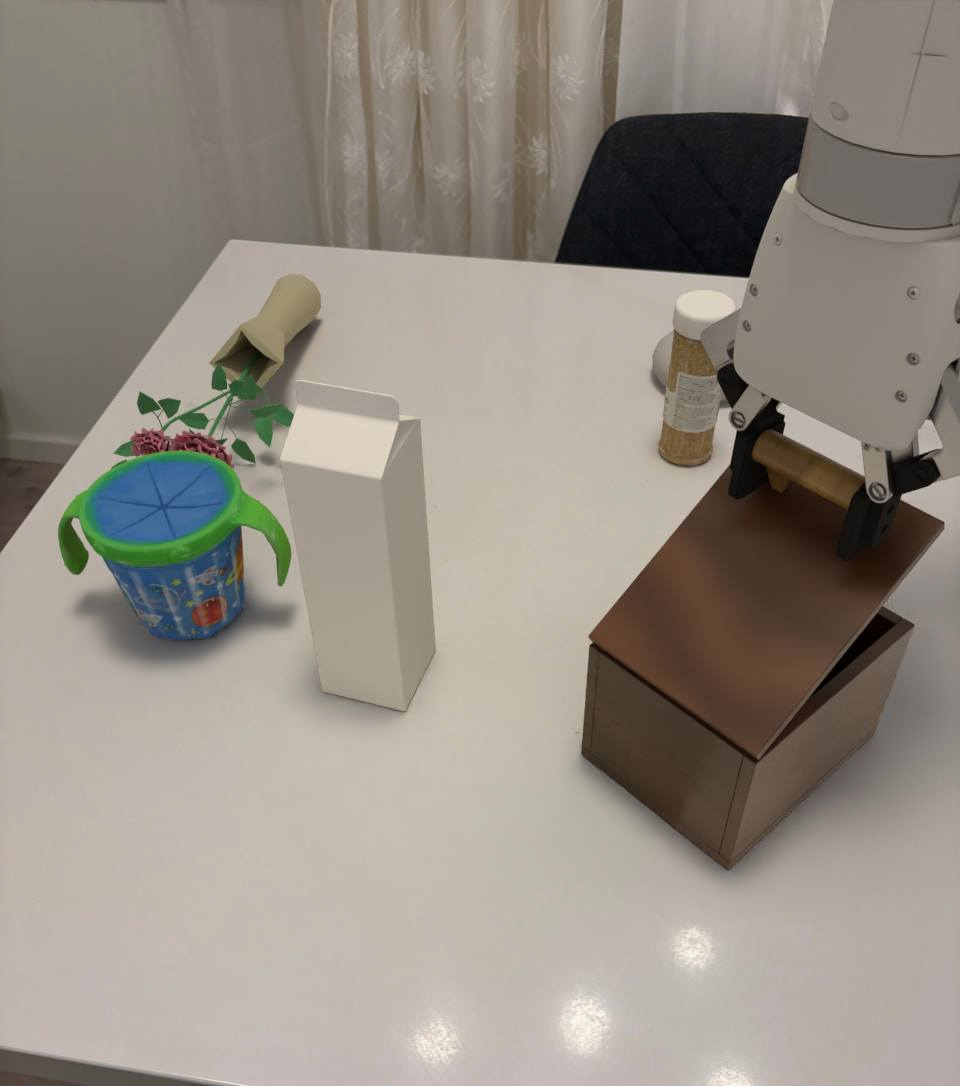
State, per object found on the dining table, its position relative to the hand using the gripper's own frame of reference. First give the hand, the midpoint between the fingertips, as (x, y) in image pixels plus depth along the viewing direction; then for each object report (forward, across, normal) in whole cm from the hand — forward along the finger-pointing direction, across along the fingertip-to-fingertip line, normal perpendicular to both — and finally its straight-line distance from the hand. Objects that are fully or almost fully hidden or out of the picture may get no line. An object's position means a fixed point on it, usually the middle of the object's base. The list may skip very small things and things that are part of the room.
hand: (802, 514), depth 57 cm
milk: (+18, +20, +14) cm, 30 cm away
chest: (+17, 0, +2) cm, 17 cm away
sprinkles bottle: (+17, +22, -20) cm, 34 cm away
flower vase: (+18, +51, +3) cm, 54 cm away
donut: (+17, +28, -30) cm, 44 cm away
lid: (+4, 0, +3) cm, 4 cm away
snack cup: (+18, +34, +20) cm, 43 cm away
